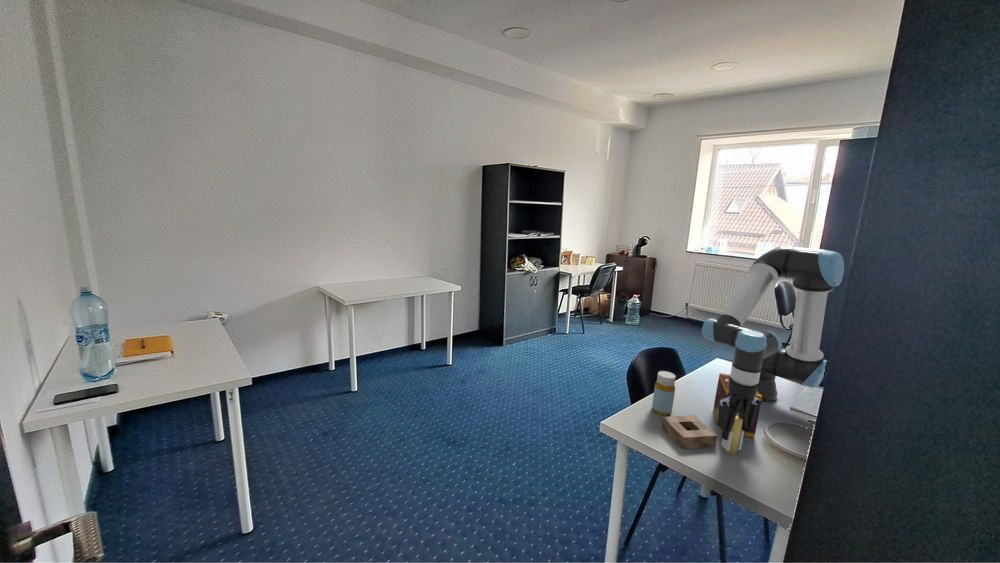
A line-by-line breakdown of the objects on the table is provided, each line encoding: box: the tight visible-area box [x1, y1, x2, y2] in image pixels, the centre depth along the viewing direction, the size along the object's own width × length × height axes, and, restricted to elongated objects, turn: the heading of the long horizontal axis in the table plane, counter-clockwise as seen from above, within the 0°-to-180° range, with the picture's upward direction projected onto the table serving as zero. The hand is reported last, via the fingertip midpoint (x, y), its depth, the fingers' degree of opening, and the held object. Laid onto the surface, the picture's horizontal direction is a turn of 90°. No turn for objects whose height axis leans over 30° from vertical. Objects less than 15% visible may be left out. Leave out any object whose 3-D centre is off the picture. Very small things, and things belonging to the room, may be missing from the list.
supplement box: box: [713, 372, 763, 438], centre depth 139 cm, size 10×15×16 cm
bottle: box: [651, 370, 677, 416], centre depth 145 cm, size 7×7×15 cm
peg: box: [724, 416, 743, 456], centre depth 123 cm, size 3×3×12 cm
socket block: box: [661, 414, 718, 449], centre depth 131 cm, size 12×12×4 cm
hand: (731, 447), depth 124 cm, fingers closed on peg, 3 cm apart
